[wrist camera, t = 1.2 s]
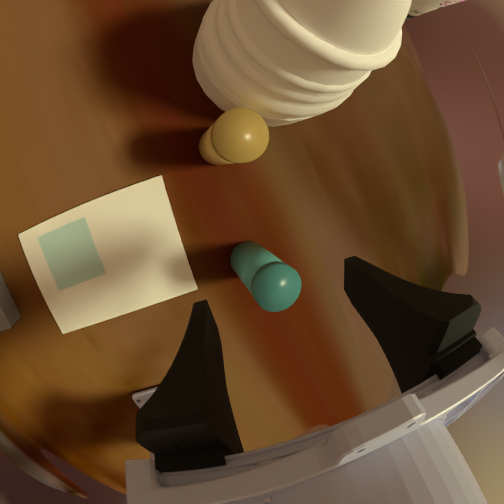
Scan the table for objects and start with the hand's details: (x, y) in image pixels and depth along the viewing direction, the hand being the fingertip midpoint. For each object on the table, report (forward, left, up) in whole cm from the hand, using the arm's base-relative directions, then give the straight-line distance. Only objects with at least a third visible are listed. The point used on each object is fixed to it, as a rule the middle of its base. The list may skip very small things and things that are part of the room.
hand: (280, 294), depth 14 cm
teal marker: (-2, -1, -11) cm, 11 cm away
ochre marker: (+8, -1, -11) cm, 14 cm away
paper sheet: (+2, +11, -11) cm, 16 cm away
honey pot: (+15, -7, -11) cm, 20 cm away
